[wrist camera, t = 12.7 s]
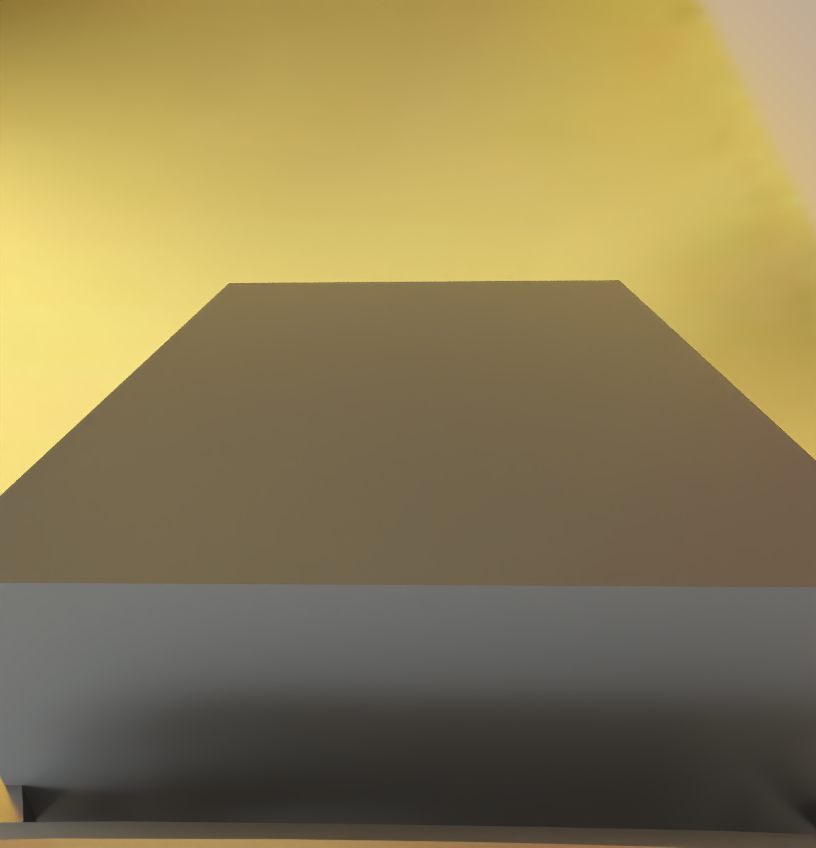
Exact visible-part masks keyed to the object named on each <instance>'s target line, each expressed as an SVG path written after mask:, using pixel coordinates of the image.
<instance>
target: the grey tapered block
mask: <svg viewBox="0 0 816 848" xmlns="http://www.w3.org/2000/svg"><path fill="white" fill-rule="evenodd" d="M0 777H1V779H2V781H3V783H4V785H22V787H23V789H24V791H25V793H26V795H27V798H28V800H29V802H30V804H31V807H32V809H33V811H34V813H35V815H36V818H37V822H114V821H129V822H229V823H321V824H389V825H452V826H512V827H564V828H610V829H657V830H703V831H739V832H764V833H790V834H816V460H814V459H813V458H812V457H811V456H810V455H809V454H808V453H807V452H806V451H805V450H804V449H802V448H801V447H800V446H799V445H798V444H797V443H796V442H795V441H794V440H793V439H792V438H790V437H789V436H788V435H787V434H786V433H785V432H784V431H783V430H782V429H781V428H780V427H778V426H777V425H776V424H775V423H774V422H773V421H772V420H771V419H770V418H769V417H768V416H766V415H765V414H764V413H763V412H762V411H761V410H760V409H759V408H758V407H757V406H756V405H754V404H753V403H752V402H751V401H750V400H749V399H748V398H747V397H746V396H745V395H744V394H742V393H741V392H740V391H739V390H738V389H737V388H736V387H735V386H734V385H733V384H732V383H730V382H729V381H728V380H727V379H726V378H725V377H724V376H723V375H722V374H721V373H720V372H718V371H717V370H716V369H715V368H714V367H713V366H712V365H711V364H710V363H709V362H708V361H706V360H705V359H704V358H703V357H702V356H701V355H700V354H699V353H698V352H697V351H696V350H694V349H693V348H692V347H691V346H690V345H689V344H688V343H687V342H686V341H685V340H684V339H683V338H681V337H680V336H679V335H678V334H677V333H676V332H675V331H674V330H673V329H672V328H671V327H669V326H668V325H667V324H666V323H665V322H664V321H663V320H662V319H661V318H660V317H659V316H657V315H656V314H655V313H654V312H653V311H652V310H651V309H650V308H649V307H648V306H647V305H645V304H644V303H643V302H642V301H641V300H640V299H639V298H638V297H637V296H636V295H635V294H633V293H632V292H631V291H630V290H629V289H628V288H627V287H626V286H625V285H624V284H623V283H621V282H620V281H619V280H609V281H471V282H333V283H229V284H228V285H227V286H226V287H225V288H224V289H222V290H221V291H220V292H219V293H218V294H217V295H216V296H215V297H214V298H213V299H212V300H211V301H210V302H208V303H207V304H206V305H205V306H204V307H203V308H202V309H201V310H200V311H199V312H198V313H197V314H196V315H194V316H193V317H192V318H191V319H190V320H189V321H188V322H187V323H186V324H185V325H184V326H183V327H182V328H181V329H179V330H178V331H177V332H176V333H175V334H174V335H173V336H172V337H171V338H170V339H169V340H168V341H167V342H165V343H164V344H163V345H162V346H161V347H160V348H159V349H158V350H157V351H156V352H155V353H154V354H153V355H151V356H150V357H149V358H148V359H147V360H146V361H145V362H144V363H143V364H142V365H141V366H140V367H139V368H137V369H136V370H135V371H134V372H133V373H132V374H131V375H130V376H129V377H128V378H127V379H126V380H125V381H123V382H122V383H121V384H120V385H119V386H118V387H117V388H116V389H115V390H114V391H113V392H112V393H111V394H109V395H108V396H107V397H106V398H105V399H104V400H103V401H102V402H101V403H100V404H99V405H98V406H97V407H95V408H94V409H93V410H92V411H91V412H90V413H89V414H88V415H87V416H86V417H85V418H84V419H83V420H81V421H80V422H79V423H78V424H77V425H76V426H75V427H74V428H73V429H72V430H71V431H70V432H69V433H67V434H66V435H65V436H64V437H63V438H62V439H61V440H60V441H59V442H58V443H57V444H56V445H55V446H53V447H52V448H51V449H50V450H49V451H48V452H47V453H46V454H45V455H44V456H43V457H42V458H41V459H39V460H38V461H37V462H36V463H35V464H34V465H33V466H32V467H31V468H30V469H29V470H28V471H27V472H26V473H24V474H23V475H22V476H21V477H20V478H19V479H18V480H17V481H16V482H15V483H14V484H13V485H12V486H10V487H9V488H8V489H7V490H6V491H5V492H4V493H3V494H2V495H1V496H0Z"/></svg>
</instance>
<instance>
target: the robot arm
mask: <svg viewBox="0 0 816 848" xmlns="http://www.w3.org/2000/svg"><path fill="white" fill-rule="evenodd" d="M0 848H816V834H790V833H764V832H739V831H703V830H657V829H610V828H564V827H512V826H452V825H389V824H321V823H229V822H129V821H114V822H37V818H36V815H35V813H34V811H33V809H32V807H31V804H30V802H29V800H28V798H27V795H26V793H25V791H24V789H23V787H22V785H4V783H3V781H2V779H1V777H0Z"/></svg>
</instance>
